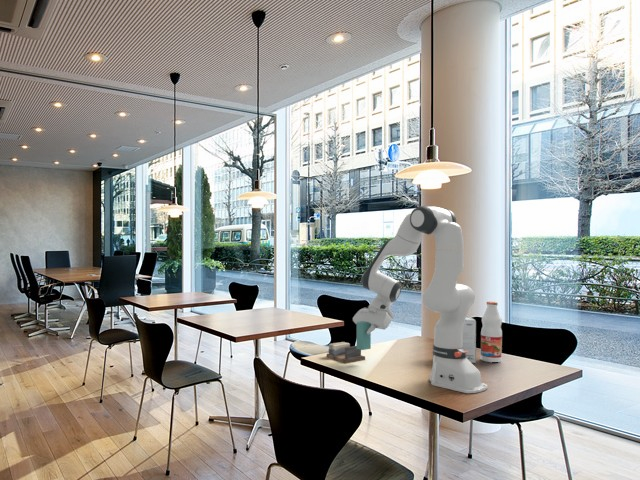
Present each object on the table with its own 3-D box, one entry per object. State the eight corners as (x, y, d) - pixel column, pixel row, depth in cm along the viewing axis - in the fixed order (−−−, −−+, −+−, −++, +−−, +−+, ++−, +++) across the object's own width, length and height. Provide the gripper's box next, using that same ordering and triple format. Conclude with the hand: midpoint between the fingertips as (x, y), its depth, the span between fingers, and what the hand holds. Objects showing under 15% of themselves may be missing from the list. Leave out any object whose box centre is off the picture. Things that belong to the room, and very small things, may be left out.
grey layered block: (365, 359, 216) (365, 345, 216) (345, 363, 209) (346, 349, 209) (345, 353, 227) (345, 340, 227) (326, 357, 220) (326, 343, 220)
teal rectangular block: (370, 348, 208) (370, 322, 209) (362, 350, 205) (362, 323, 206) (364, 347, 211) (364, 321, 212) (356, 348, 208) (356, 322, 209)
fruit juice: (504, 360, 220) (506, 302, 220) (496, 364, 213) (497, 303, 213) (486, 357, 226) (487, 300, 227) (477, 360, 220) (478, 301, 220)
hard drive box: (472, 359, 221) (473, 318, 221) (476, 363, 214) (476, 320, 214) (439, 357, 223) (440, 316, 223) (442, 361, 215) (442, 319, 215)
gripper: (359, 303, 221) (343, 325, 215) (390, 307, 205) (374, 331, 199) (366, 311, 224) (350, 333, 218) (397, 316, 208) (382, 340, 202)
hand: (362, 332), depth 208 cm, fingers closed on teal rectangular block, 4 cm apart
